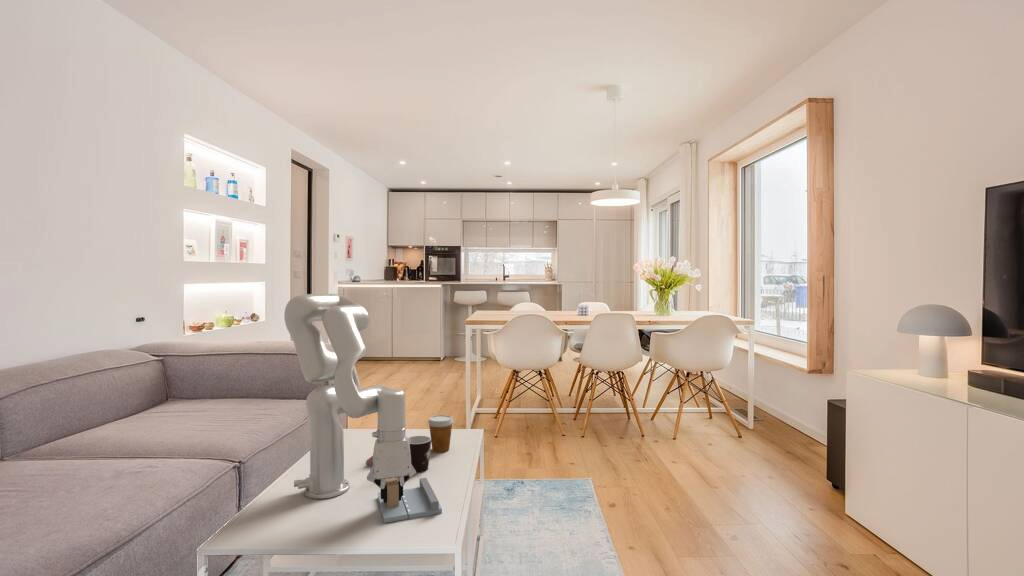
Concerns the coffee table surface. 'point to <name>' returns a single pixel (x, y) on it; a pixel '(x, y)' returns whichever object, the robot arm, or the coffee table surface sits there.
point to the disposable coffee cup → (440, 432)
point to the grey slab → (392, 503)
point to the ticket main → (421, 500)
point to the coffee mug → (420, 452)
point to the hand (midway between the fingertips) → (391, 499)
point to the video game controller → (369, 461)
